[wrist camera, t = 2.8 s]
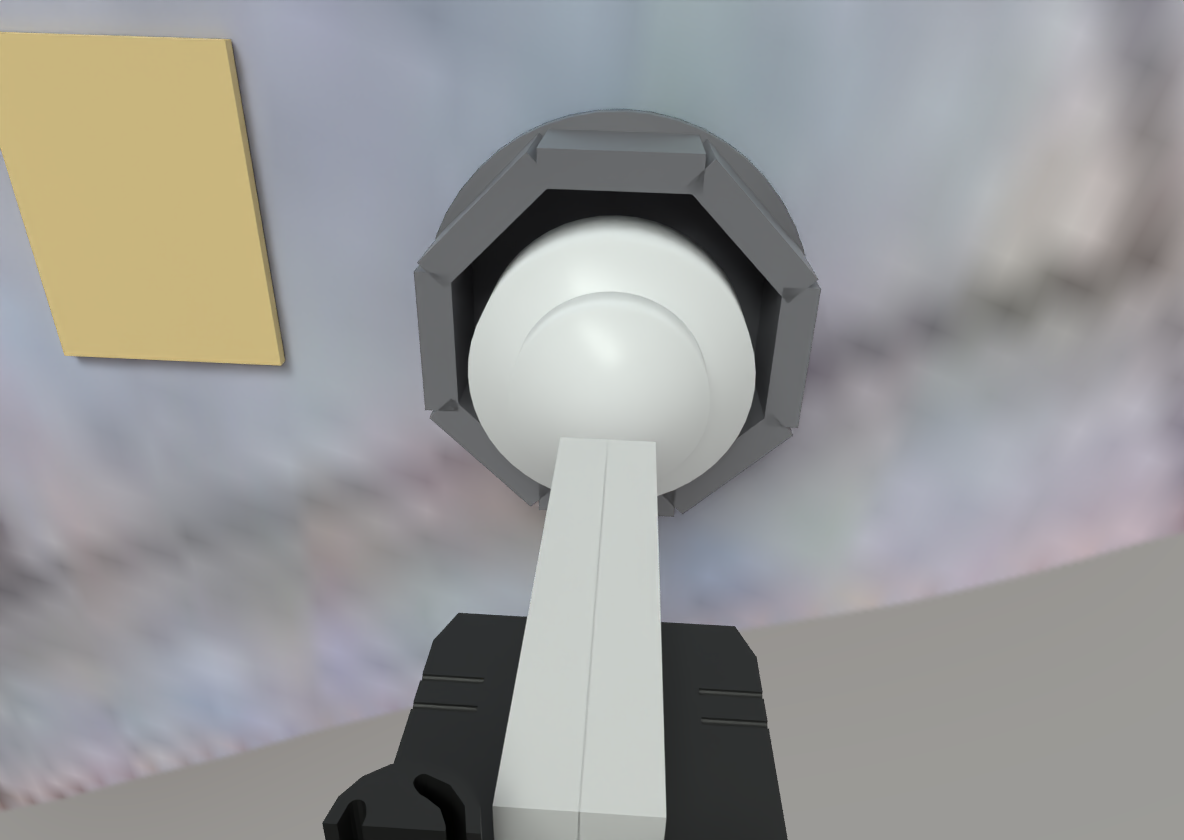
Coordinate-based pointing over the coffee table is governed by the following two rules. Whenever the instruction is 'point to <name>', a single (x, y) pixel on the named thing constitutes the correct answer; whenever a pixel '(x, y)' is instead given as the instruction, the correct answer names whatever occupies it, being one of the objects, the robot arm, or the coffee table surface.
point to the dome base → (628, 188)
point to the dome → (613, 349)
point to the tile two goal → (139, 196)
